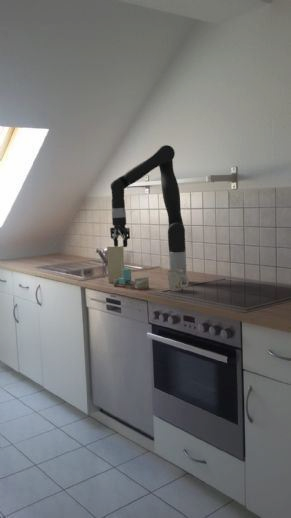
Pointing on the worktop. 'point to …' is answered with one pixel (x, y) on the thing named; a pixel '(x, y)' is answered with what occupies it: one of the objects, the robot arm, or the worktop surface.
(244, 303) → the worktop surface
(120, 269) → the toy refrigerator
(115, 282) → the track
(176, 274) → the mug
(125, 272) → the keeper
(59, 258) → the worktop surface
